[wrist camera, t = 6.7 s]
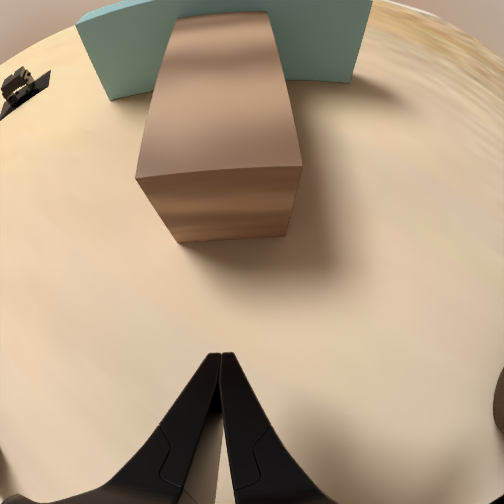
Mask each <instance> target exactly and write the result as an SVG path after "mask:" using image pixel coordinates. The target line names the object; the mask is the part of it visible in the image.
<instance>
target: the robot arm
mask: <svg viewBox="0 0 504 504" xmlns="http://www.w3.org/2000/svg"><path fill="white" fill-rule="evenodd" d="M159 425H160V426H157V428H156V429H155V430H154V432H153V433H152V435H151V436H150V437H149V438H148V440H147V441H146V442H145V444H144V445H143V446H142V447H141V448H140V449H139V450H138V452H137V453H136V454H135V455H134V456H133V457H132V458H131V459H130V460H129V461H128V462H127V463H126V464H125V465H124V466H123V467H122V468H121V469H120V470H119V471H118V472H117V473H116V474H115V475H114V476H113V477H112V478H111V479H110V480H109V481H108V482H107V483H105V484H104V485H102V486H101V487H99V488H97V489H94V490H91V491H88V492H85V493H82V494H79V495H76V496H73V497H69V498H66V499H62V500H59V501H55V502H51V503H38V502H34V501H32V500H30V499H28V498H26V497H24V496H22V495H20V494H16V495H13V496H11V497H8V498H7V499H5V500H4V501H3V502H2V503H1V504H215V497H216V488H217V479H218V470H219V461H220V453H221V444H222V435H223V427H224V432H225V439H226V446H227V453H228V460H229V466H230V473H231V479H232V485H233V490H234V497H235V504H339V503H337V502H336V501H334V500H333V499H331V498H329V497H328V496H327V495H326V494H325V493H324V492H322V491H321V490H320V489H319V488H318V487H317V486H316V485H315V483H314V482H313V481H312V480H311V479H310V478H309V477H308V475H307V474H306V473H305V472H304V471H303V470H302V468H301V467H300V466H299V465H298V464H297V462H296V461H295V460H294V459H293V457H292V456H291V455H290V453H289V452H288V451H287V449H286V448H285V447H284V445H283V444H282V442H281V440H280V439H279V437H278V435H277V434H276V432H275V430H274V428H273V427H272V426H271V423H270V421H269V419H268V418H267V416H266V414H265V412H264V410H263V408H262V406H261V405H260V403H259V401H258V399H257V397H256V395H255V393H254V391H253V389H252V387H251V385H250V384H249V382H248V380H247V378H246V376H245V374H244V372H243V370H242V368H241V366H240V364H239V362H238V360H237V358H236V356H235V354H234V353H233V352H223V353H222V354H221V353H209V354H208V355H207V356H206V358H205V359H204V360H203V362H202V363H201V365H200V366H199V368H198V369H197V371H196V372H195V374H194V375H193V376H192V378H191V379H190V381H189V382H188V384H187V385H186V387H185V388H184V389H183V391H182V392H181V394H180V395H179V397H178V398H177V399H176V401H175V402H174V404H173V405H172V407H171V408H170V409H169V411H168V412H167V414H166V415H165V416H164V418H163V419H162V421H161V422H160V424H159ZM489 504H504V494H503V495H501V496H500V497H498V498H497V499H495V500H494V501H492V502H491V503H489Z"/></svg>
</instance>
